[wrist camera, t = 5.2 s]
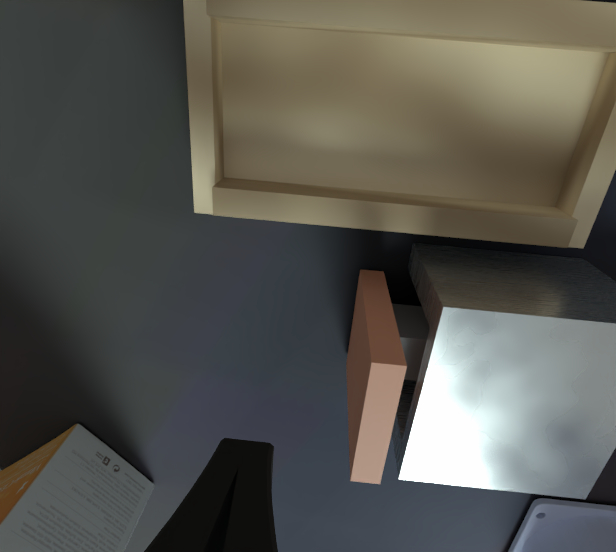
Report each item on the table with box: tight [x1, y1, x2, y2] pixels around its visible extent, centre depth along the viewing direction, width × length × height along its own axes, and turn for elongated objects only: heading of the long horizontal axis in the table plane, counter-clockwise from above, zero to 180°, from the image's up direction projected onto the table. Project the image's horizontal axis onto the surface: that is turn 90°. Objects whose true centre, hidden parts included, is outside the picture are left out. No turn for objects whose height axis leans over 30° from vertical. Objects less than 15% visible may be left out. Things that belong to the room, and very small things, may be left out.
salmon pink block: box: [346, 269, 430, 484], centre depth 15 cm, size 5×8×6 cm, turn 86°
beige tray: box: [183, 0, 616, 248], centre depth 13 cm, size 7×14×2 cm, turn 86°
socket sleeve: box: [392, 243, 616, 499], centre depth 16 cm, size 8×7×5 cm
